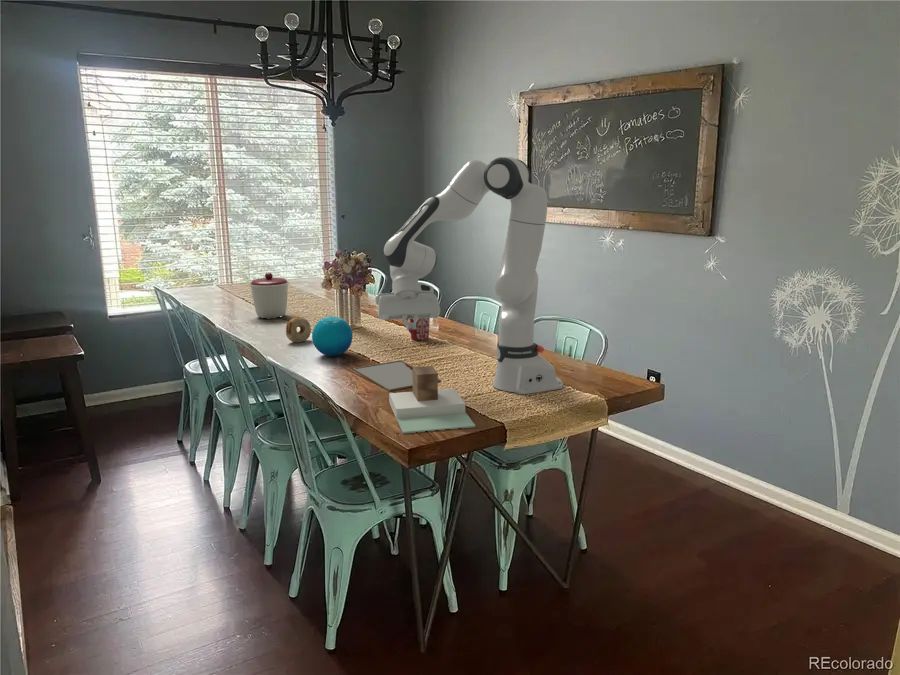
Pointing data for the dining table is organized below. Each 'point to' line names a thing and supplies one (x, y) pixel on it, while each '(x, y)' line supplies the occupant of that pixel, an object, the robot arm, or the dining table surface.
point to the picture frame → (389, 374)
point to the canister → (270, 296)
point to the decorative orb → (332, 336)
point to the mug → (420, 329)
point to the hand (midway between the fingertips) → (411, 328)
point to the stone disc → (292, 329)
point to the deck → (426, 404)
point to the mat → (435, 423)
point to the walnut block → (425, 383)
